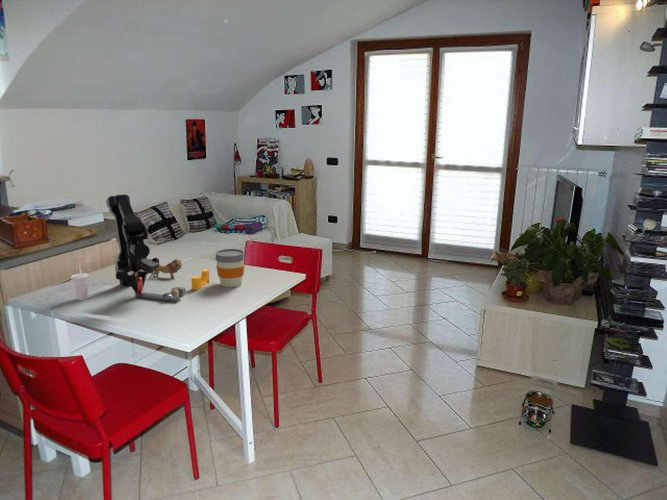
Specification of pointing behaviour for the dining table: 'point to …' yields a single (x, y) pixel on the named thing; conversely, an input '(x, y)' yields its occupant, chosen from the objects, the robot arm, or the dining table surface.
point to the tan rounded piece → (175, 292)
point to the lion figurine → (168, 268)
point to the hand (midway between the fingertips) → (138, 290)
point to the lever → (165, 297)
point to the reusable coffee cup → (230, 267)
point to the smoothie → (81, 284)
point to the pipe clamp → (200, 280)
